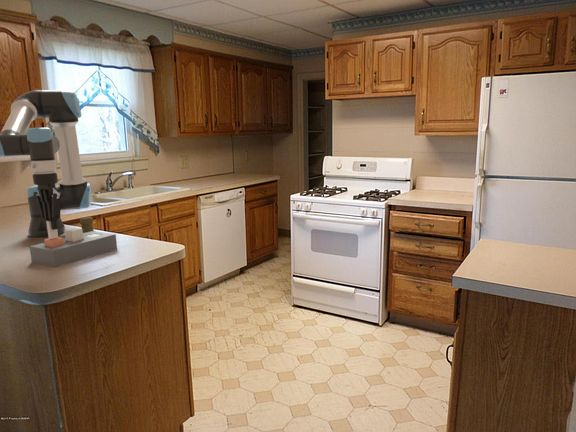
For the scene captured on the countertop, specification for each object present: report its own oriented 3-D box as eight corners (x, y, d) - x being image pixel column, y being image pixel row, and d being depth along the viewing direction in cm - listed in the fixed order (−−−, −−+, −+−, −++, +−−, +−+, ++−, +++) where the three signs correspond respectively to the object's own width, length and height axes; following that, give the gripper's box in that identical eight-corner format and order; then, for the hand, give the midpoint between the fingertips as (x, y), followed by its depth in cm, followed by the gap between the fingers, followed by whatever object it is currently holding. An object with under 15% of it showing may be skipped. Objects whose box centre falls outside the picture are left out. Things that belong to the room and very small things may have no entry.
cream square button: (85, 246, 169) (84, 236, 168) (95, 243, 173) (94, 233, 172) (93, 247, 167) (91, 237, 166) (102, 244, 171) (101, 234, 170)
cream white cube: (65, 240, 162) (64, 230, 161) (76, 238, 165) (74, 227, 165) (72, 241, 159) (71, 231, 159) (83, 239, 163) (82, 228, 162)
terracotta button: (45, 250, 155) (44, 239, 154) (57, 247, 159) (55, 236, 158) (53, 251, 153) (51, 240, 152) (64, 248, 157) (63, 237, 156)
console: (31, 262, 156) (29, 246, 155) (94, 245, 178) (92, 230, 177) (55, 267, 149) (53, 250, 148) (117, 248, 171) (115, 234, 170)
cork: (92, 239, 187) (89, 215, 185) (99, 241, 183) (96, 216, 181) (78, 242, 182) (75, 217, 180) (85, 245, 178) (82, 219, 176)
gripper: (23, 173, 150) (32, 238, 155) (45, 174, 144) (54, 242, 149) (43, 171, 157) (52, 234, 161) (66, 172, 150) (74, 237, 155)
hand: (53, 238), depth 155 cm, fingers closed
